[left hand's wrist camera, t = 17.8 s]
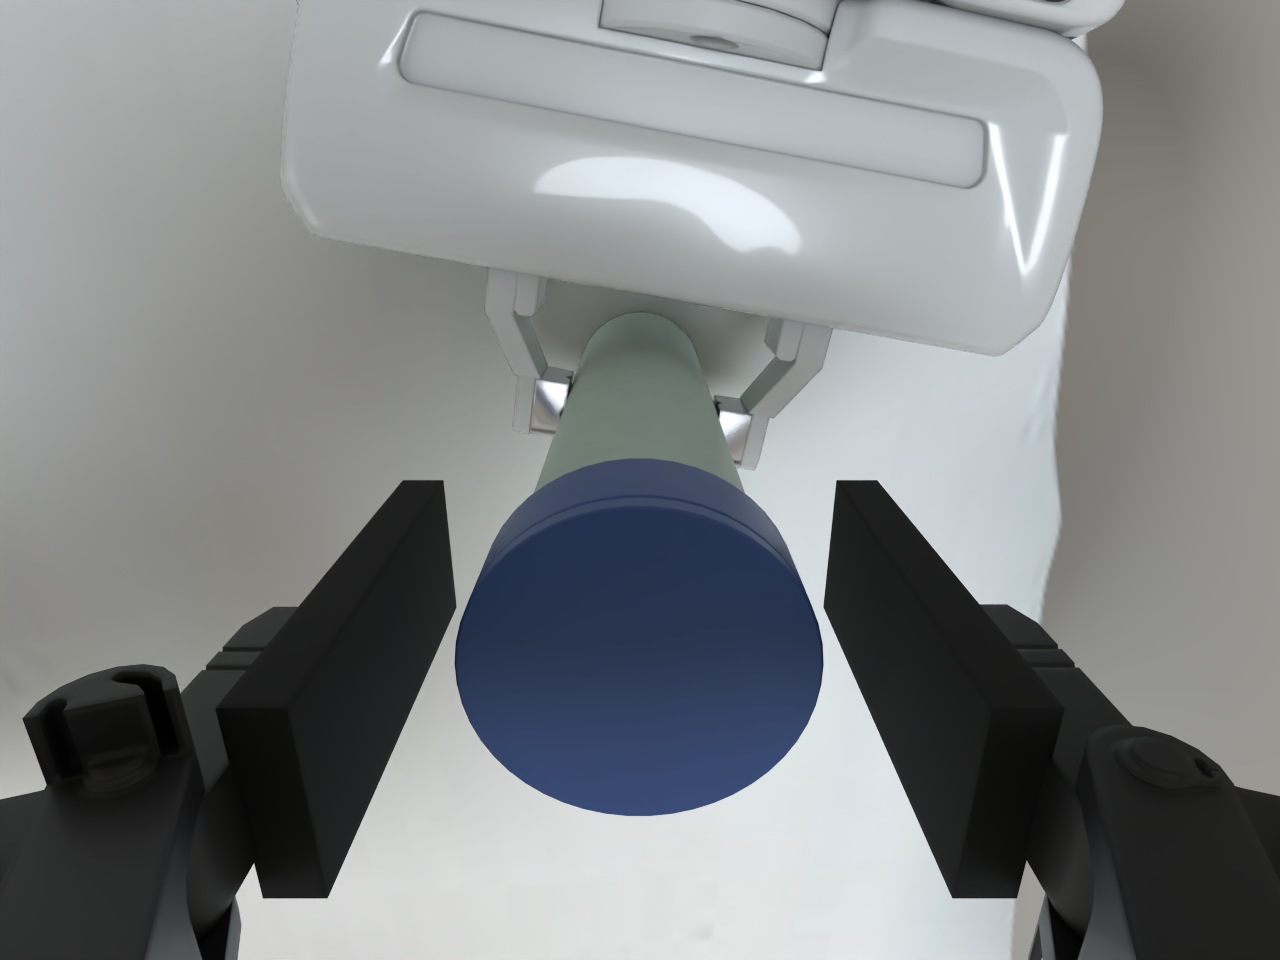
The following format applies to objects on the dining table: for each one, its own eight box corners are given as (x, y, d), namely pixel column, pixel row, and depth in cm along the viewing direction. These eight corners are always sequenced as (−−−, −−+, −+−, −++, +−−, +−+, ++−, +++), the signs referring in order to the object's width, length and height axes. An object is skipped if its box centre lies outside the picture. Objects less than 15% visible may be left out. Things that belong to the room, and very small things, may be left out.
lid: (861, 566, 12) (901, 633, 10) (677, 776, 13) (683, 866, 12) (592, 391, 11) (582, 431, 9) (425, 640, 12) (389, 716, 11)
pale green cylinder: (672, 443, 29) (718, 797, 12) (565, 404, 29) (453, 718, 11) (716, 337, 28) (841, 571, 11) (604, 294, 27) (543, 466, 10)
